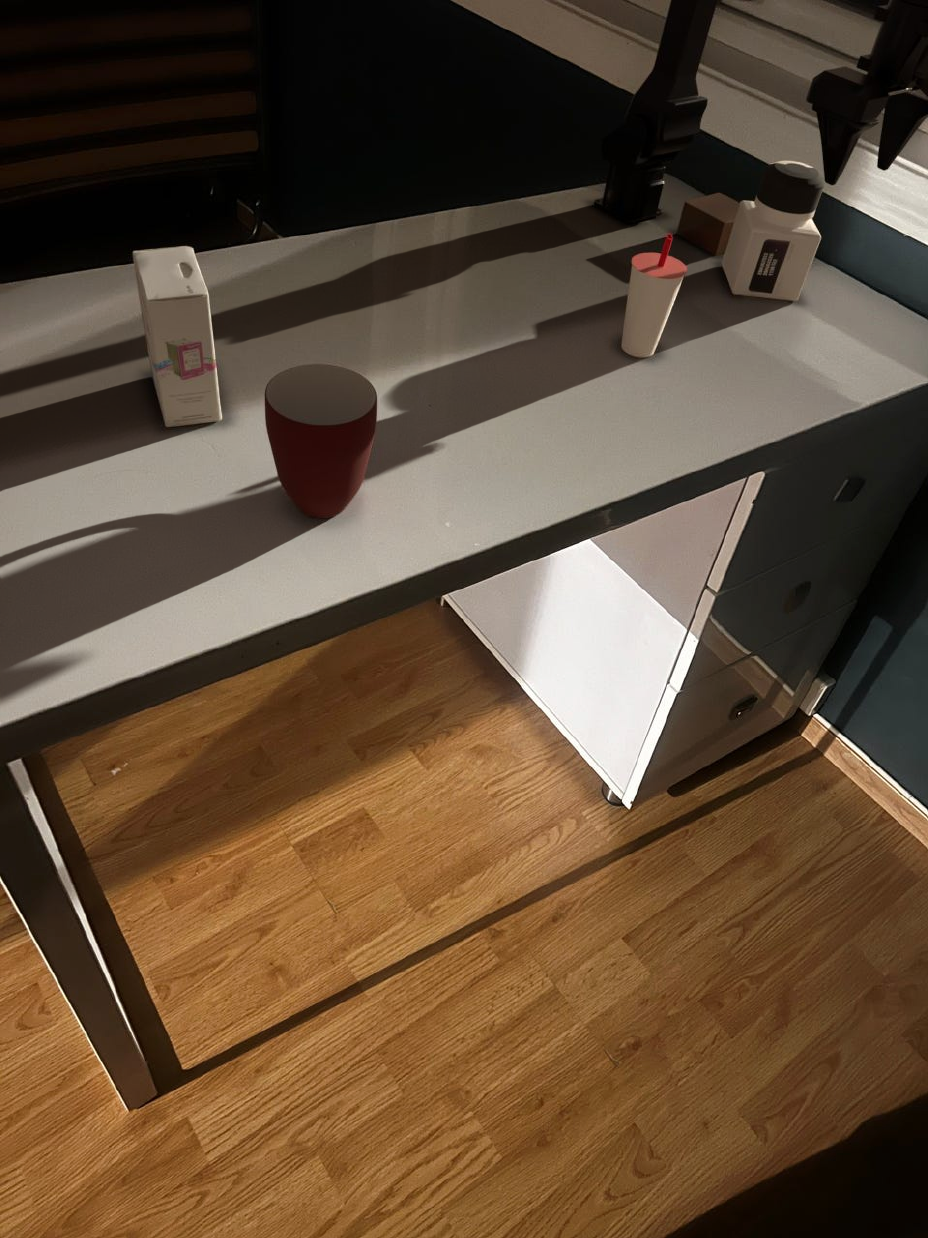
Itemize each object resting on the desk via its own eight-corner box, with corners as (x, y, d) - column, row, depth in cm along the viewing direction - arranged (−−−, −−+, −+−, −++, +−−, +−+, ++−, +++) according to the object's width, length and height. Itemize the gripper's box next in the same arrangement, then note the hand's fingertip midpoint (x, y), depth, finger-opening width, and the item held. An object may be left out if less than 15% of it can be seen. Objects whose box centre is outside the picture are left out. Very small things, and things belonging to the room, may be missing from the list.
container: (798, 302, 111) (841, 186, 101) (731, 295, 110) (769, 178, 101) (783, 271, 116) (823, 158, 107) (720, 263, 116) (755, 150, 106)
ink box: (147, 374, 87) (129, 245, 79) (205, 368, 89) (193, 242, 80) (162, 429, 82) (145, 297, 73) (223, 422, 83) (212, 292, 75)
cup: (672, 361, 98) (705, 245, 90) (624, 364, 97) (653, 247, 89) (650, 333, 102) (681, 220, 93) (603, 336, 101) (630, 221, 92)
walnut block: (675, 233, 120) (684, 201, 118) (710, 223, 124) (719, 192, 121) (715, 255, 117) (725, 222, 114) (749, 244, 120) (760, 212, 118)
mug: (227, 484, 77) (217, 374, 70) (303, 445, 82) (302, 338, 75) (318, 551, 73) (317, 440, 66) (393, 505, 78) (400, 398, 71)
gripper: (946, 36, 80) (870, 225, 91) (1054, 18, 89) (973, 190, 100) (835, -2, 85) (776, 179, 96) (948, -16, 95) (882, 151, 106)
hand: (856, 176), depth 99 cm, fingers open, 9 cm apart
